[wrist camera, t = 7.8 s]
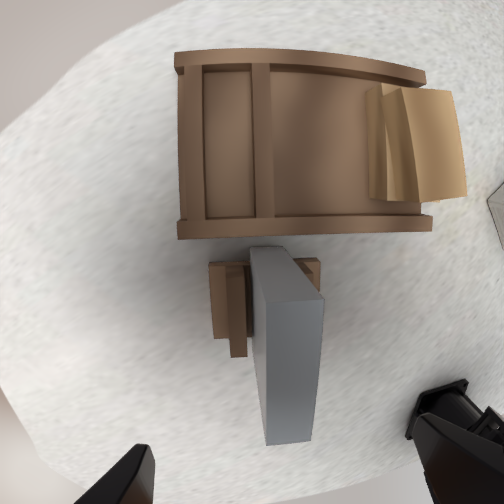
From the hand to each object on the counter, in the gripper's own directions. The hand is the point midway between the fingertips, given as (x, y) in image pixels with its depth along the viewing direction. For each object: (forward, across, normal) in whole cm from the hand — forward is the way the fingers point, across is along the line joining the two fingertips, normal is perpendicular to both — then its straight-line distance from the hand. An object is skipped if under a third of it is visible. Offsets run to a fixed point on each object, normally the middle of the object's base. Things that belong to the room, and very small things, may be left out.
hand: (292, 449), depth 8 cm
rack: (+13, -3, -10) cm, 17 cm away
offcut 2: (+10, -9, -10) cm, 17 cm away
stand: (+13, 0, 0) cm, 13 cm away
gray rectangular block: (+12, 0, 0) cm, 12 cm away
